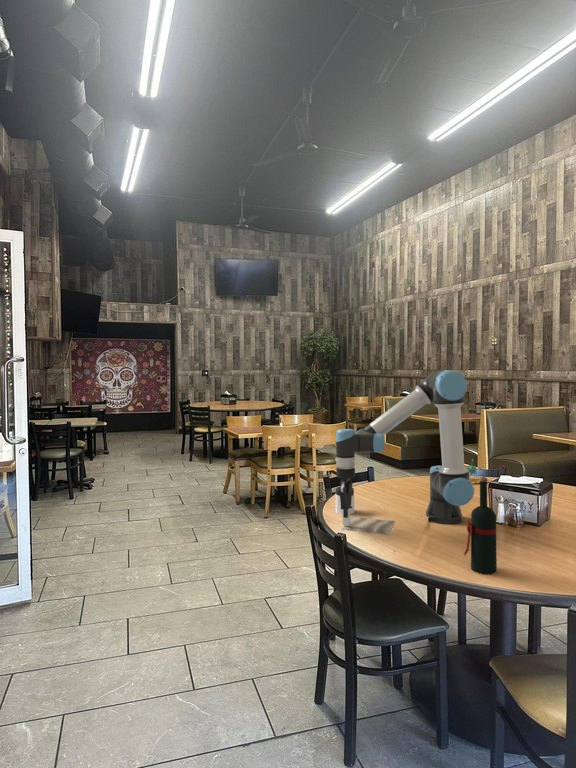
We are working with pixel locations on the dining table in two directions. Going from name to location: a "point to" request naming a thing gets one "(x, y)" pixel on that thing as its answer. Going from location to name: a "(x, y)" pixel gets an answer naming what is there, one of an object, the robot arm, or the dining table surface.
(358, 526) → the plank
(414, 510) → the dining table surface
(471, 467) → the frog figurine
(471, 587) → the dining table surface
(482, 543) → the wine bottle
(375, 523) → the grey flat panel
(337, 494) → the jar
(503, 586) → the dining table surface
